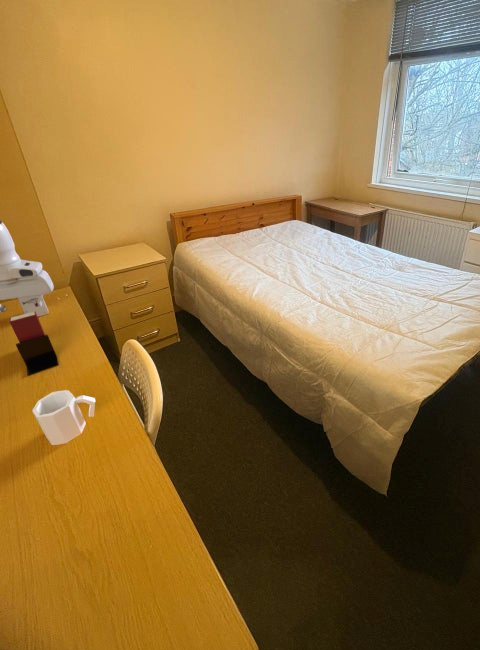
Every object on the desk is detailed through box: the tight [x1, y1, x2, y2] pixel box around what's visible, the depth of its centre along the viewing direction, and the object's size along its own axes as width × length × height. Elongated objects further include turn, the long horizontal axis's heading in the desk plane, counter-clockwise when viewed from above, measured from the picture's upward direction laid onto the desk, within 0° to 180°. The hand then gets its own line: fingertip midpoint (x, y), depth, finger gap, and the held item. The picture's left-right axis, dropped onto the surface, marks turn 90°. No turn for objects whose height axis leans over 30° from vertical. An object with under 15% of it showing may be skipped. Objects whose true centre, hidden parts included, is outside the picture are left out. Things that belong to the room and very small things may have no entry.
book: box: [9, 311, 47, 343], centre depth 102 cm, size 16×6×3 cm
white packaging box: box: [17, 295, 50, 318], centre depth 127 cm, size 7×7×13 cm
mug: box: [31, 389, 96, 446], centre depth 80 cm, size 12×9×10 cm
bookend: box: [15, 334, 60, 377], centre depth 100 cm, size 6×8×9 cm
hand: (21, 308), depth 104 cm, fingers open, 8 cm apart
